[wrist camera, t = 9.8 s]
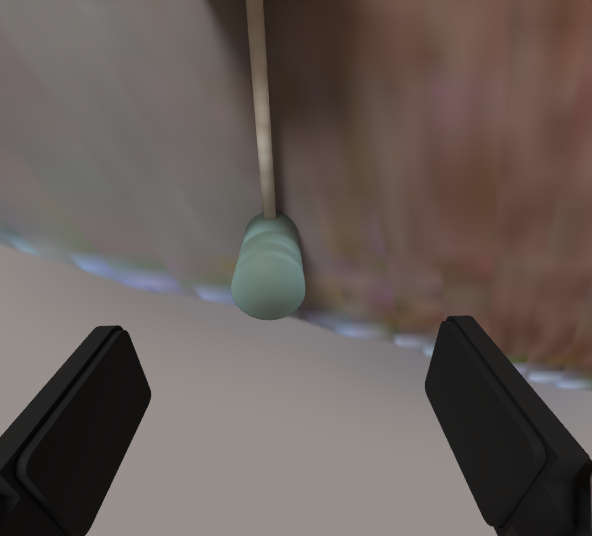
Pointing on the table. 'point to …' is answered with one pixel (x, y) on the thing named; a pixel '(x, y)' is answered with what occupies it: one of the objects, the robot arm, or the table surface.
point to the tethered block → (266, 211)
